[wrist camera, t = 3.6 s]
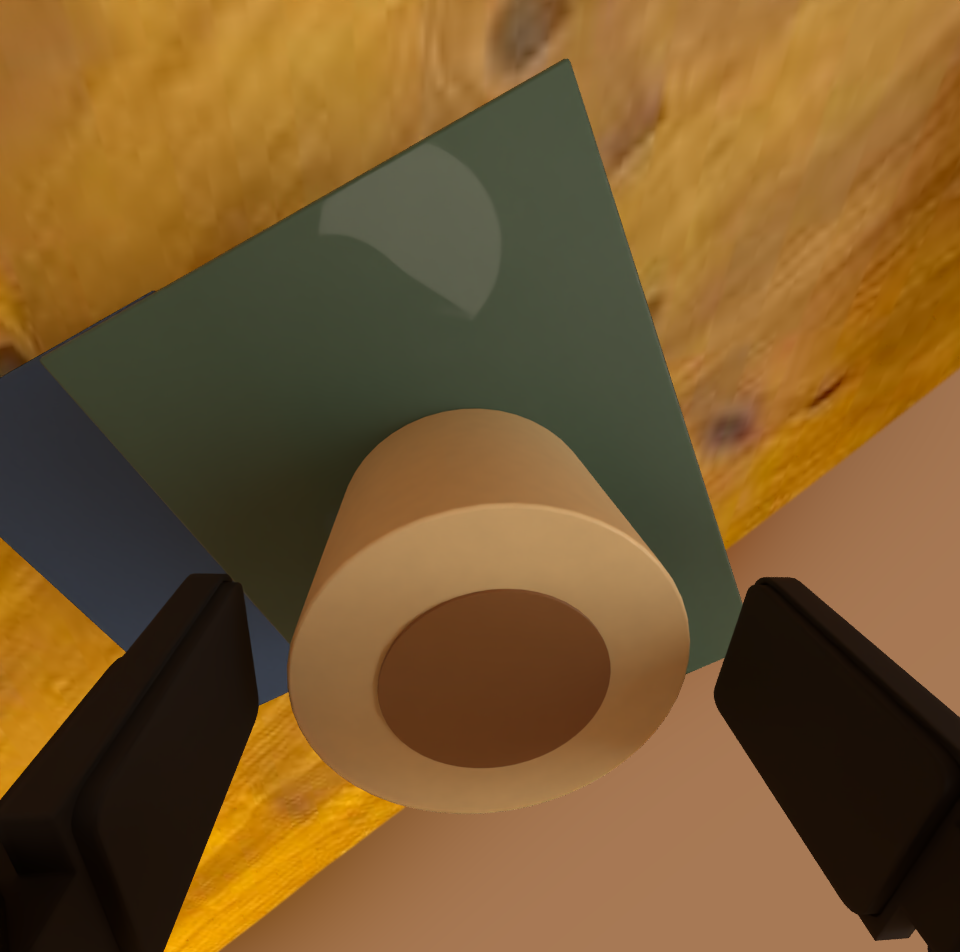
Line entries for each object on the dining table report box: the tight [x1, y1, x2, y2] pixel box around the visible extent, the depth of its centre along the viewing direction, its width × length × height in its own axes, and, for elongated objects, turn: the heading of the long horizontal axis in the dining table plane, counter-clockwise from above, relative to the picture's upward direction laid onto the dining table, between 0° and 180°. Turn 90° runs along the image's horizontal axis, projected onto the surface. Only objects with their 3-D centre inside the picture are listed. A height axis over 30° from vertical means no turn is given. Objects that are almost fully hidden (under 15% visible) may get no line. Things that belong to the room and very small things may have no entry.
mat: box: [0, 291, 290, 705], centre depth 24 cm, size 13×20×1 cm, turn 26°
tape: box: [287, 409, 690, 814], centre depth 10 cm, size 7×7×5 cm
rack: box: [40, 59, 743, 674], centre depth 17 cm, size 12×16×11 cm
